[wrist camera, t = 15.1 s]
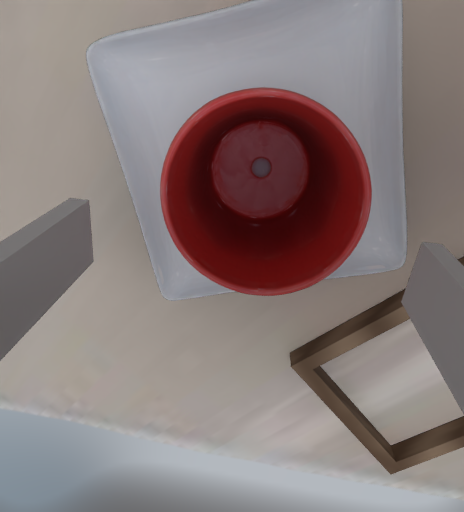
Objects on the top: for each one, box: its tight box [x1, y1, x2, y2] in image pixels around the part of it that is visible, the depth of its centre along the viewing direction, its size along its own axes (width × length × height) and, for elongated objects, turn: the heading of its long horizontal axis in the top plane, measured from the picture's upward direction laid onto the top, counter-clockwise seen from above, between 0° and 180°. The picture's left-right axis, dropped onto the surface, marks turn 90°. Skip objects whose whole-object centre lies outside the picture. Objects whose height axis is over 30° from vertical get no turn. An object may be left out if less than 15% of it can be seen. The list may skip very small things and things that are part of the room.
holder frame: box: [290, 257, 464, 474], centre depth 38 cm, size 19×19×2 cm
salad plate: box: [86, 0, 407, 301], centre depth 30 cm, size 21×21×3 cm
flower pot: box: [160, 87, 372, 296], centre depth 24 cm, size 11×11×10 cm
